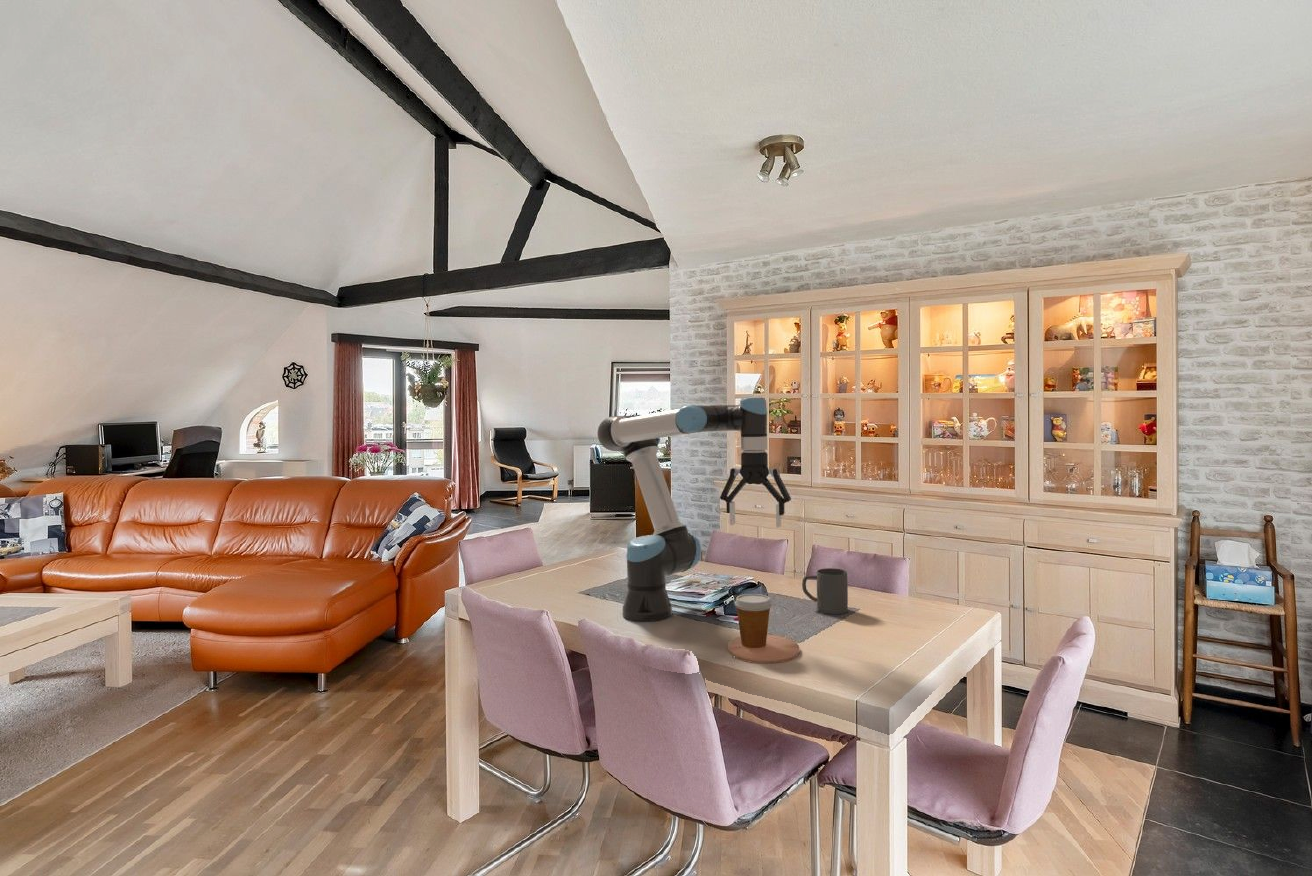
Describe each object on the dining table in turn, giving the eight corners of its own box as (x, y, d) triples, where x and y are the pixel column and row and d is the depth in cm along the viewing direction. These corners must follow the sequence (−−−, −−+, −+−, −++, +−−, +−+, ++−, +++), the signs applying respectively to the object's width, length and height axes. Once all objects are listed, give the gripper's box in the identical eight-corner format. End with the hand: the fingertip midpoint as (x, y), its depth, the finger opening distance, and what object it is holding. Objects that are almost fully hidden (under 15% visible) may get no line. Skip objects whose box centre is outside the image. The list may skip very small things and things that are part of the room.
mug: (849, 607, 211) (848, 569, 210) (846, 616, 202) (845, 576, 202) (804, 604, 216) (804, 566, 215) (800, 612, 207) (799, 573, 207)
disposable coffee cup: (770, 651, 170) (769, 604, 170) (732, 649, 172) (732, 602, 172) (773, 639, 179) (773, 594, 179) (737, 636, 182) (737, 592, 181)
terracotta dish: (713, 650, 175) (713, 645, 175) (759, 634, 187) (759, 629, 187) (768, 669, 162) (768, 664, 162) (813, 650, 174) (813, 645, 174)
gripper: (800, 450, 192) (801, 525, 193) (716, 450, 202) (718, 521, 203) (794, 452, 185) (795, 529, 186) (708, 452, 195) (709, 525, 196)
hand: (755, 525), depth 195 cm, fingers open, 13 cm apart
